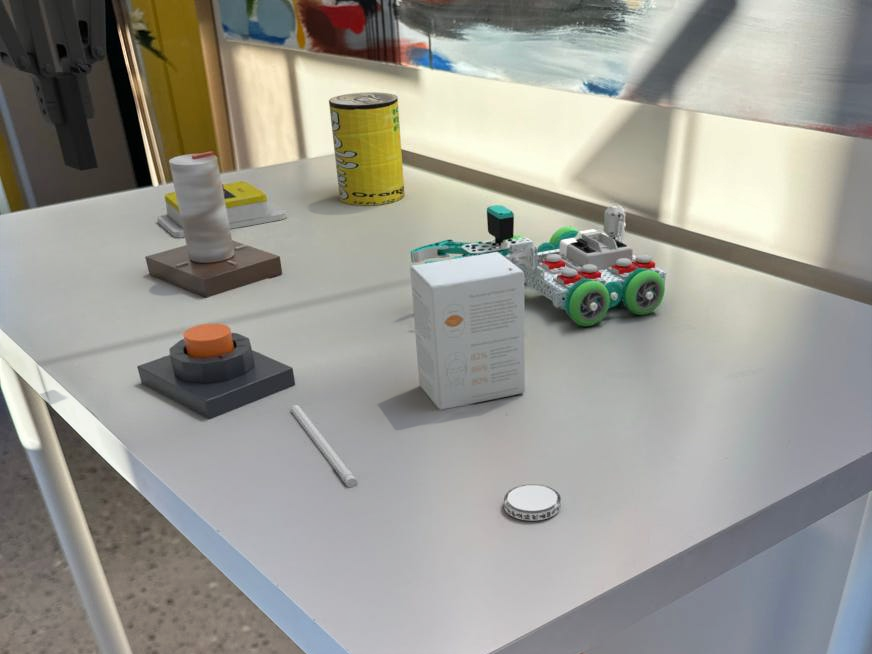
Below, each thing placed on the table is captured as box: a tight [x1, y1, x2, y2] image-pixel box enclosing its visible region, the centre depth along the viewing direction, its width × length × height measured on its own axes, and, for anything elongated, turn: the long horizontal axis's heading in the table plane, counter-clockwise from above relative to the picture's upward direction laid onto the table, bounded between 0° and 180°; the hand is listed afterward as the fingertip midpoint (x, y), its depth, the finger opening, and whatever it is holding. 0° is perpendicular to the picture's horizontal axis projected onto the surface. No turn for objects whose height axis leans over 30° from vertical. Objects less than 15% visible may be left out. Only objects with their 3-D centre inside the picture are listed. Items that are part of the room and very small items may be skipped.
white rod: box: [290, 404, 358, 488], centre depth 77 cm, size 1×1×15 cm
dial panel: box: [144, 239, 283, 299], centre depth 109 cm, size 12×10×2 cm
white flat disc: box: [503, 483, 562, 521], centre depth 68 cm, size 4×4×1 cm
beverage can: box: [328, 91, 405, 206], centre depth 130 cm, size 9×9×12 cm
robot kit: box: [410, 204, 667, 327], centre depth 98 cm, size 19×25×9 cm
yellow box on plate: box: [156, 180, 287, 239], centre depth 126 cm, size 9×4×15 cm
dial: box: [168, 151, 234, 263], centre depth 106 cm, size 5×5×10 cm
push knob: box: [183, 322, 234, 358], centre depth 84 cm, size 4×4×2 cm
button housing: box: [136, 332, 296, 420], centre depth 85 cm, size 11×9×4 cm
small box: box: [409, 252, 526, 411], centre depth 81 cm, size 8×6×10 cm
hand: (81, 165), depth 79 cm, fingers closed
